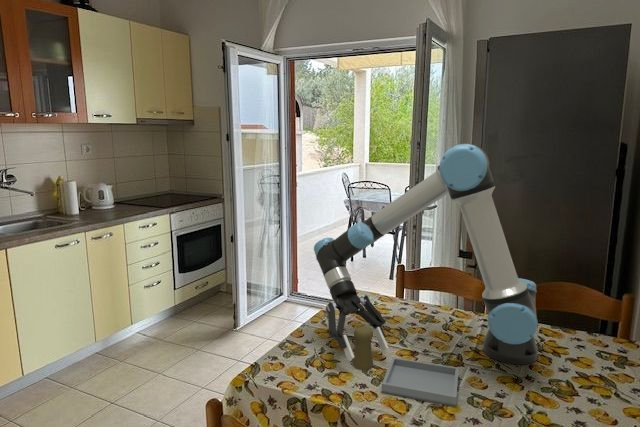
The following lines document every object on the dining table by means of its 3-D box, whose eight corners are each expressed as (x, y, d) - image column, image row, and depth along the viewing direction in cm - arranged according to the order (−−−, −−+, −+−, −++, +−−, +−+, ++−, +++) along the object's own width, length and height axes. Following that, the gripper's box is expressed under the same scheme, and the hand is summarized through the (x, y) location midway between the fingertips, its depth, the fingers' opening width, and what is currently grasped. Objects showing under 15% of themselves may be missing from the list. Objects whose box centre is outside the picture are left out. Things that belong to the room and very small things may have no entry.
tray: (458, 376, 119) (458, 367, 119) (455, 407, 105) (456, 397, 105) (392, 365, 125) (392, 356, 125) (381, 392, 111) (381, 383, 111)
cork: (372, 371, 122) (373, 333, 120) (350, 368, 123) (351, 331, 122) (374, 360, 128) (375, 324, 126) (353, 358, 129) (354, 323, 127)
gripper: (367, 285, 142) (395, 350, 131) (302, 297, 131) (327, 369, 120) (377, 273, 136) (408, 340, 125) (310, 284, 125) (337, 359, 114)
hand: (368, 354), depth 122 cm, fingers open, 11 cm apart
